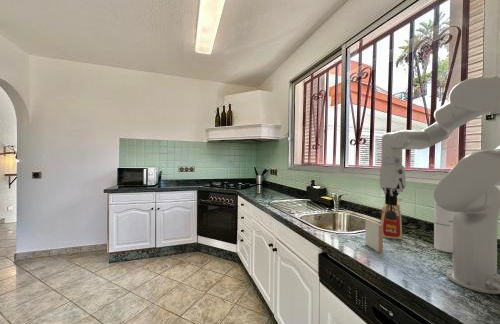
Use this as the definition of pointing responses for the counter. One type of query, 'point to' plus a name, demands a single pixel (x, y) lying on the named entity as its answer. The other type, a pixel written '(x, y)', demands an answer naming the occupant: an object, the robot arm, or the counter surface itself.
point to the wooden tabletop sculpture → (390, 212)
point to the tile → (374, 235)
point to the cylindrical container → (443, 229)
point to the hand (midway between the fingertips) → (391, 204)
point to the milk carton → (392, 222)
